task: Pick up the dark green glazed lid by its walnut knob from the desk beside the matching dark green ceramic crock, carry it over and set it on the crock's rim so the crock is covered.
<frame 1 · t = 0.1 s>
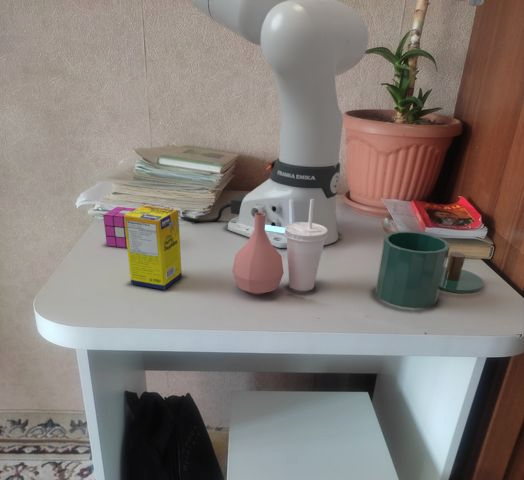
hand: (468, 3, 73), 39 cm above the table, tool pointing down, fingers open, 8 cm apart
pink vase: (257, 292, 79), on the table
puzzle toy: (128, 243, 96), on the table
supplement box: (156, 281, 81), on the table
smoothie: (301, 289, 81), on the table
lid: (451, 280, 84), point 1 cm above the table
crock: (405, 297, 79), on the table
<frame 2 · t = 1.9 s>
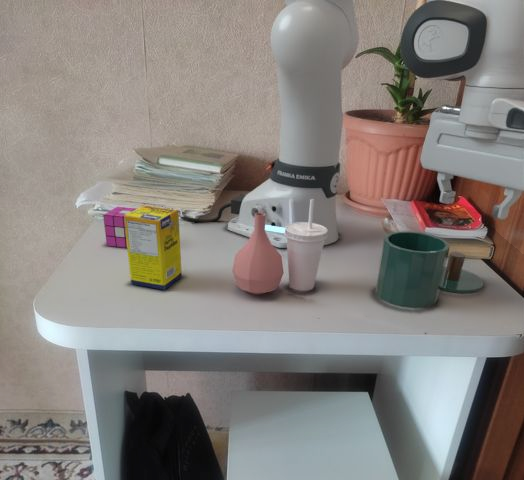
hand: (471, 210, 78), 12 cm above the table, tool pointing down, fingers open, 8 cm apart
nothing on the table moved.
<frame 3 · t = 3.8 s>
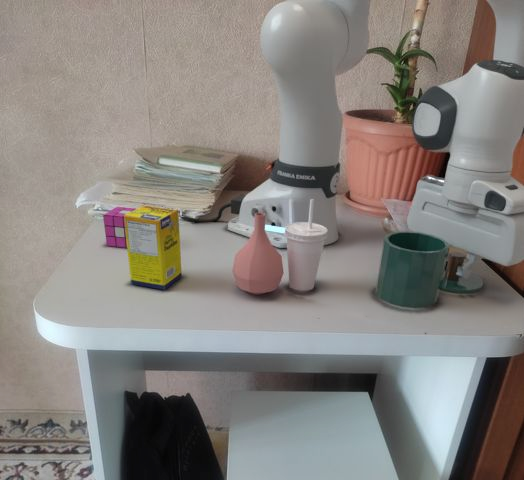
hand: (453, 273, 84), 2 cm above the table, tool pointing down, fingers closed on lid, 2 cm apart
lid: (451, 280, 84), point 1 cm above the table, touching gripper
everything else where it was.
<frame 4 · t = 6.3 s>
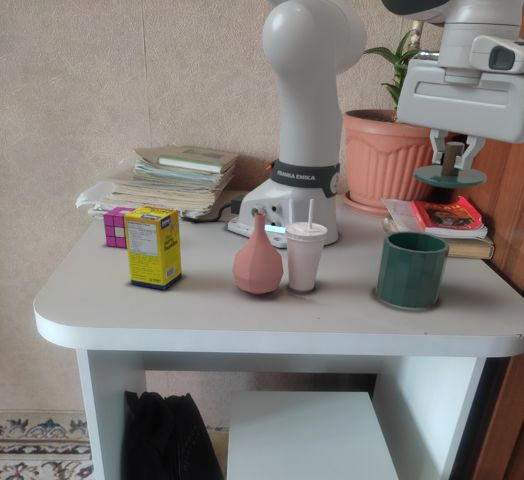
hand: (450, 167, 72), 19 cm above the table, tool pointing down, fingers closed on lid, 2 cm apart
lid: (449, 177, 73), point 18 cm above the table, touching gripper
everything else where it was.
when the fingers open (10 cm above the table, at t = 8.9 s): lid stays where it is, resting on crock.
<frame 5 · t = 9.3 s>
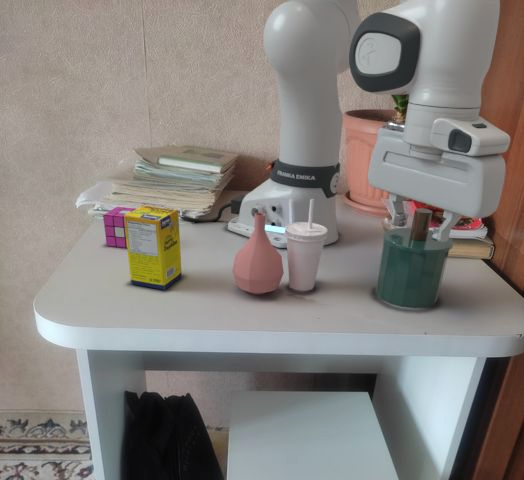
hand: (418, 232, 74), 10 cm above the table, tool pointing down, fingers open, 6 cm apart
lid: (417, 241, 75), point 9 cm above the table, touching crock
everything else where it was.
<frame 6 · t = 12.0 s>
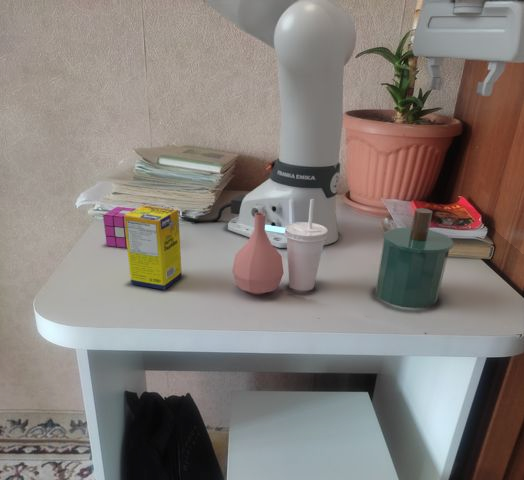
hand: (458, 92, 82), 27 cm above the table, tool pointing down, fingers open, 8 cm apart
nothing on the table moved.
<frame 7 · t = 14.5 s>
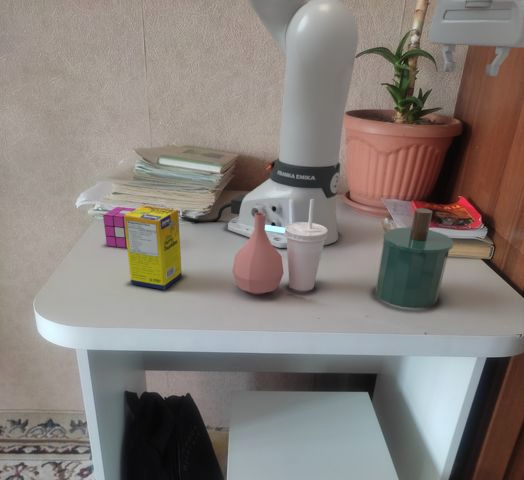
hand: (469, 74, 98), 29 cm above the table, tool pointing down, fingers open, 8 cm apart
nothing on the table moved.
at the end: lid 0.1 cm off-centre on the crock, point 9.0 cm above the crock's base; lid tilted 0°; the gripper is holding nothing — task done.
